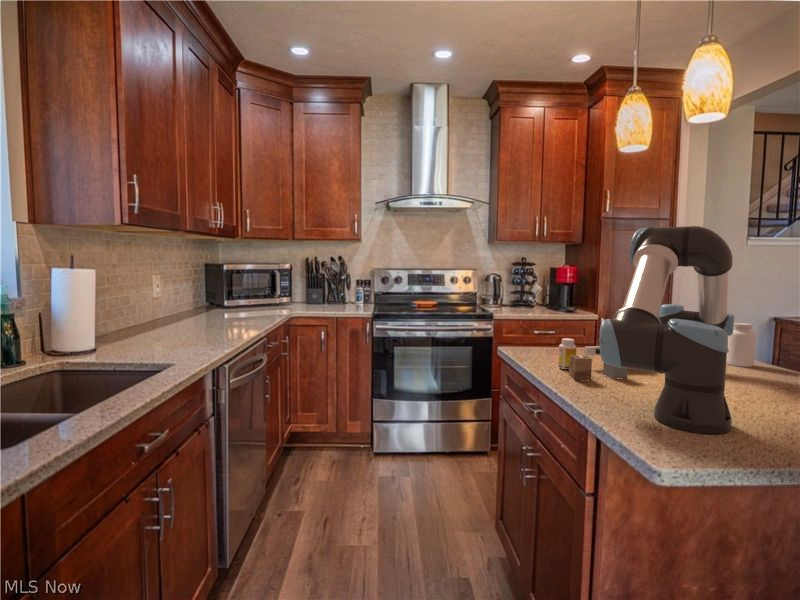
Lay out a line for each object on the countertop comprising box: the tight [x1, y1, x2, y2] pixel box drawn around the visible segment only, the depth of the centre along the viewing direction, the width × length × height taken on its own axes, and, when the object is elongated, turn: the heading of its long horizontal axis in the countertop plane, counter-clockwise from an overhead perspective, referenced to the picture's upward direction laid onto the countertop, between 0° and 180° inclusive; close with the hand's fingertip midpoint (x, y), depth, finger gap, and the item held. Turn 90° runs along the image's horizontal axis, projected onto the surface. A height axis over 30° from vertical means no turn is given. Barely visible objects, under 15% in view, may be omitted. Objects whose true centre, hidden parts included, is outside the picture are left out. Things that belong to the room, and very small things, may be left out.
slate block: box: [602, 362, 629, 380], centre depth 146 cm, size 5×5×7 cm
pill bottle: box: [726, 322, 757, 368], centre depth 165 cm, size 8×8×15 cm
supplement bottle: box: [558, 337, 577, 370], centre depth 156 cm, size 6×6×10 cm
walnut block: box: [568, 354, 593, 381], centre depth 143 cm, size 5×5×7 cm
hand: (585, 351), depth 158 cm, fingers closed
